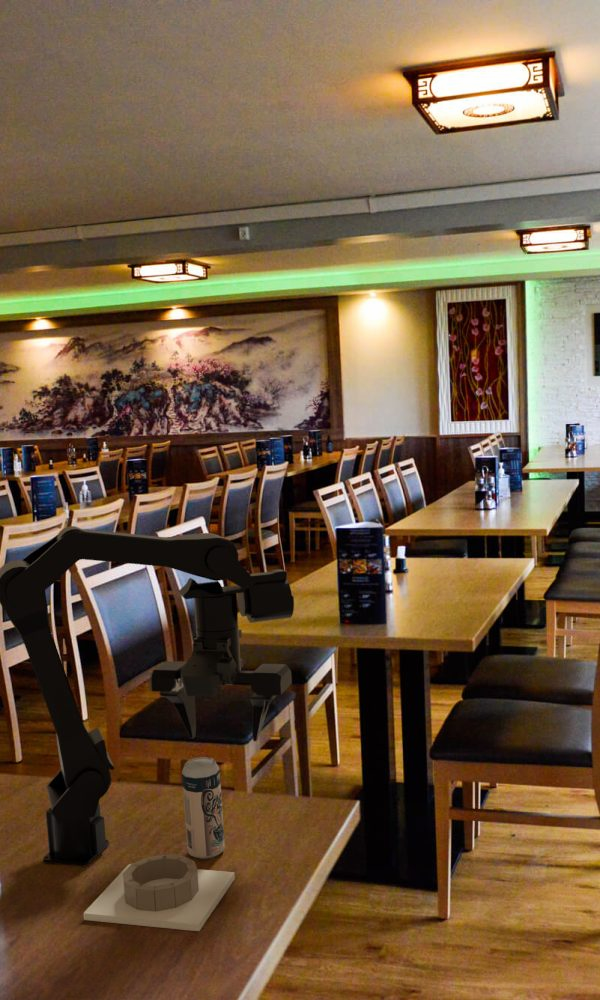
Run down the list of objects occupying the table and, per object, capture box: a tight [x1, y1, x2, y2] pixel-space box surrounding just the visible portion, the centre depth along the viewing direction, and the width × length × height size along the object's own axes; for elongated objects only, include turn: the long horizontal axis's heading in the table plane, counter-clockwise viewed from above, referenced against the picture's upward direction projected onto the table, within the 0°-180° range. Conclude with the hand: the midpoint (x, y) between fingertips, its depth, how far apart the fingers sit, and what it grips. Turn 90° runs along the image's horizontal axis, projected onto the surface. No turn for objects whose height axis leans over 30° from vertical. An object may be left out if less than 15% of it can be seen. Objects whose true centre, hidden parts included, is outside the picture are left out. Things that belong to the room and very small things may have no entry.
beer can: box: [181, 757, 226, 860], centre depth 125 cm, size 5×5×12 cm
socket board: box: [83, 854, 236, 932], centre depth 114 cm, size 14×12×3 cm
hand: (224, 739), depth 133 cm, fingers open, 9 cm apart
